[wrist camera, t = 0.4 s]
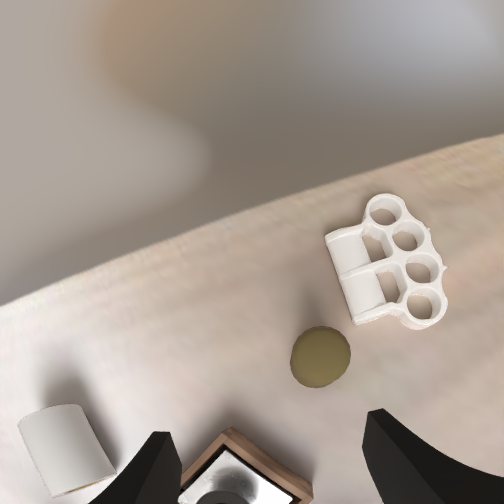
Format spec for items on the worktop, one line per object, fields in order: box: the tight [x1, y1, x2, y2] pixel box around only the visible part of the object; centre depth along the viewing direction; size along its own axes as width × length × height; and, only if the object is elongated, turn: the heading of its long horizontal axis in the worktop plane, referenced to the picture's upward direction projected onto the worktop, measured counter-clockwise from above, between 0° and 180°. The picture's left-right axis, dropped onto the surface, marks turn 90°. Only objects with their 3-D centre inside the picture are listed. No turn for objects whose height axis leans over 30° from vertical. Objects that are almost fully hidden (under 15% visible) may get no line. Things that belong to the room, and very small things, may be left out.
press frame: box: [177, 427, 314, 504], centre depth 28 cm, size 12×12×5 cm
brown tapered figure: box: [290, 326, 351, 388], centre depth 30 cm, size 6×6×11 cm
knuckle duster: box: [324, 193, 448, 330], centre depth 37 cm, size 3×18×15 cm
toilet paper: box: [18, 404, 117, 498], centre depth 29 cm, size 10×10×10 cm
